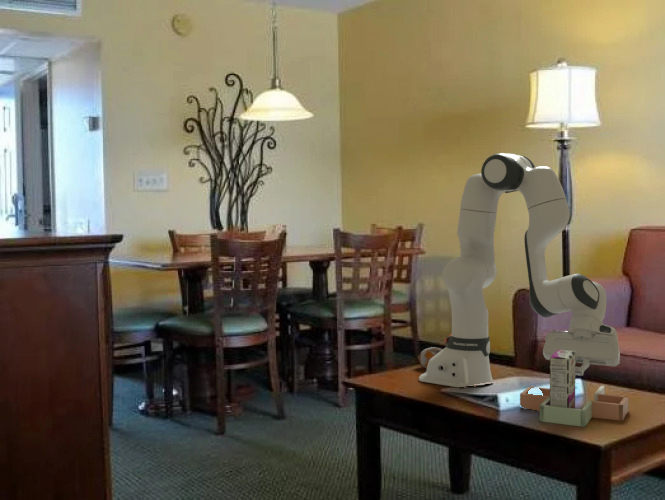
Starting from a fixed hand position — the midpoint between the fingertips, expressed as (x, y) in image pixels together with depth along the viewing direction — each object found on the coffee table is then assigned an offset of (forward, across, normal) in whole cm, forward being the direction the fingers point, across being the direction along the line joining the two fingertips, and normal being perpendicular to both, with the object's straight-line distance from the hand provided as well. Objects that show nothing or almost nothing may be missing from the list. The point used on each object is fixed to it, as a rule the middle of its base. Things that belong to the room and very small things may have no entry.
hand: (577, 374), depth 215 cm
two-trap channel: (+10, 0, +2) cm, 10 cm away
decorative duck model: (-13, -50, +26) cm, 58 cm away
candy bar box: (+16, -1, -3) cm, 16 cm away
